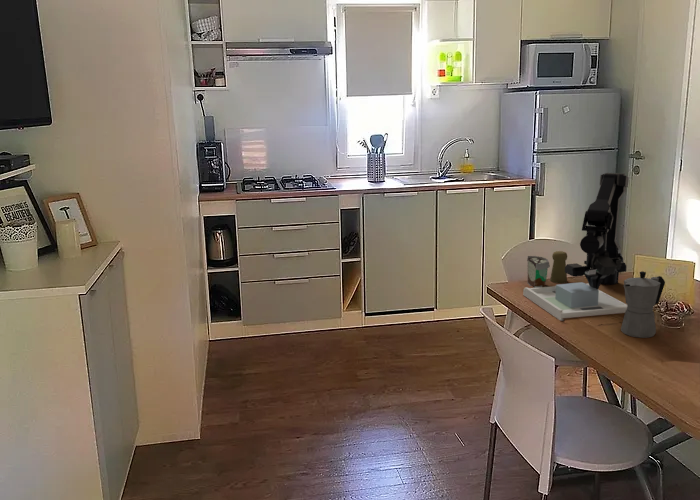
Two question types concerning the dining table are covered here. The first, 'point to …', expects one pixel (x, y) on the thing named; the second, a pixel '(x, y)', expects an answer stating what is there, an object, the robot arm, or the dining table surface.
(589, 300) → the slate block
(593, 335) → the dining table surface
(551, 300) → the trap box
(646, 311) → the coffeepot
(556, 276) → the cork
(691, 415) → the dining table surface
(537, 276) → the food container
